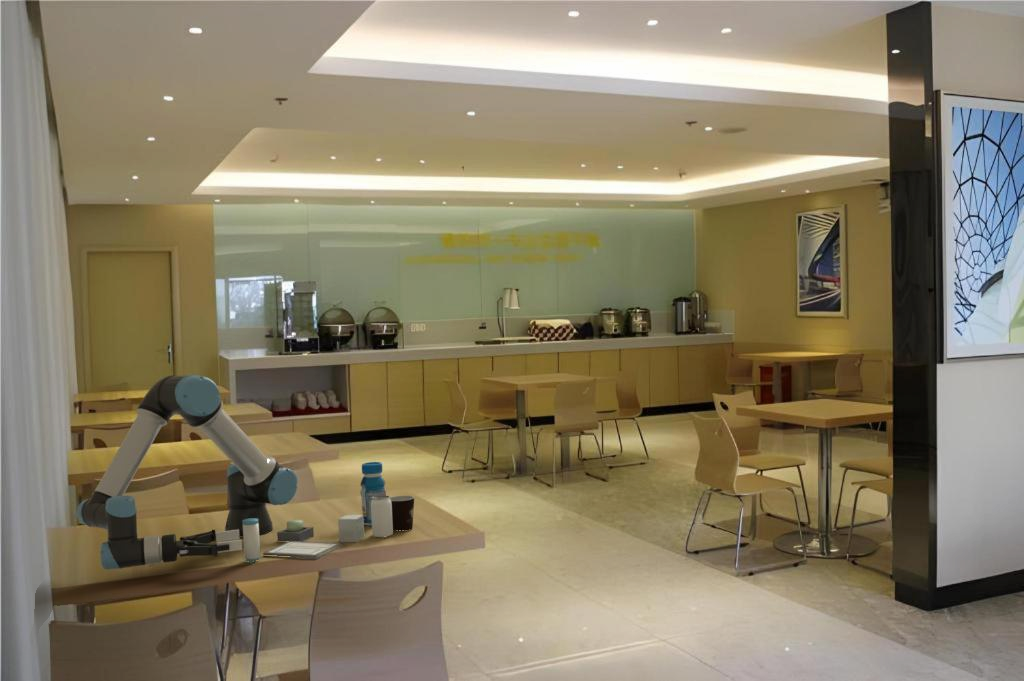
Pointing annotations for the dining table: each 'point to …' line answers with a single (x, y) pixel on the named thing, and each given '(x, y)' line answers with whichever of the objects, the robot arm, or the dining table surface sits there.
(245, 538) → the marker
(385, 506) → the can
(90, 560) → the dining table surface
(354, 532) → the product box
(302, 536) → the button box
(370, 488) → the beverage bottle
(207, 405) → the robot arm
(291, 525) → the button
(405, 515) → the coffee mug
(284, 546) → the picture board
